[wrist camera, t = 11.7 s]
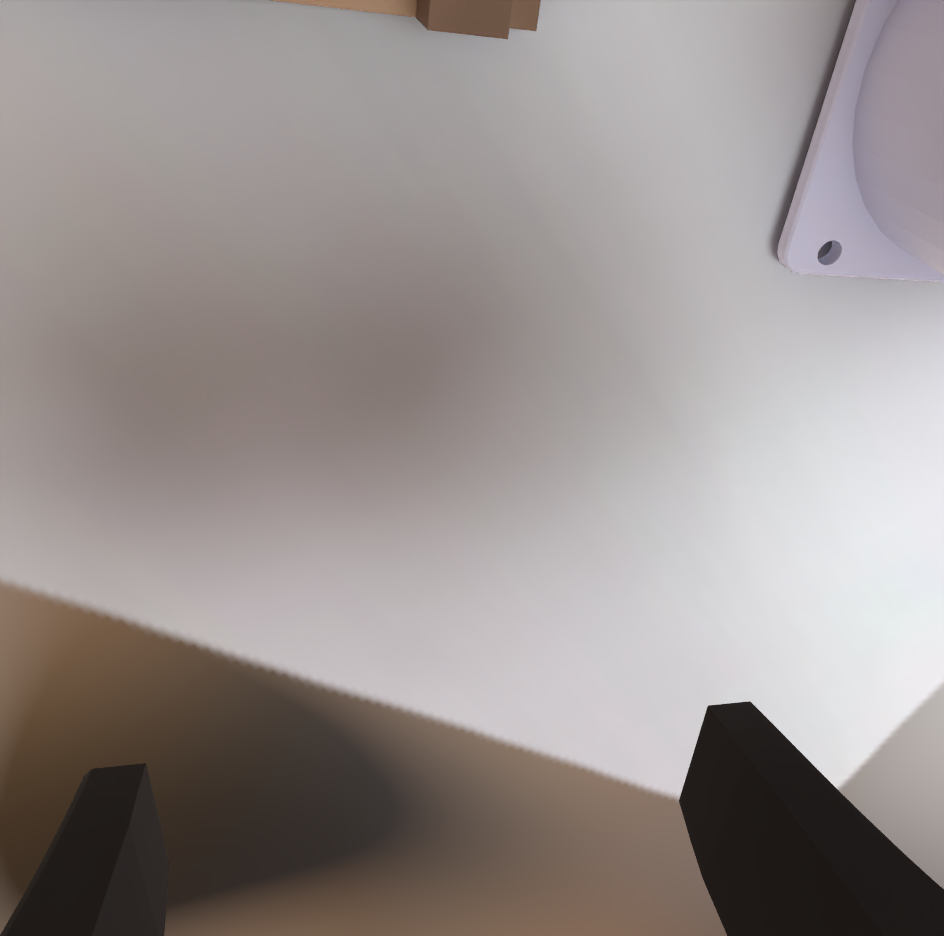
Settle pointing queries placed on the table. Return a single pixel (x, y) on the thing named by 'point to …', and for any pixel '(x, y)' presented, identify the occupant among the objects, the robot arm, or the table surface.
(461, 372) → the table surface
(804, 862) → the robot arm
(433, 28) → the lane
